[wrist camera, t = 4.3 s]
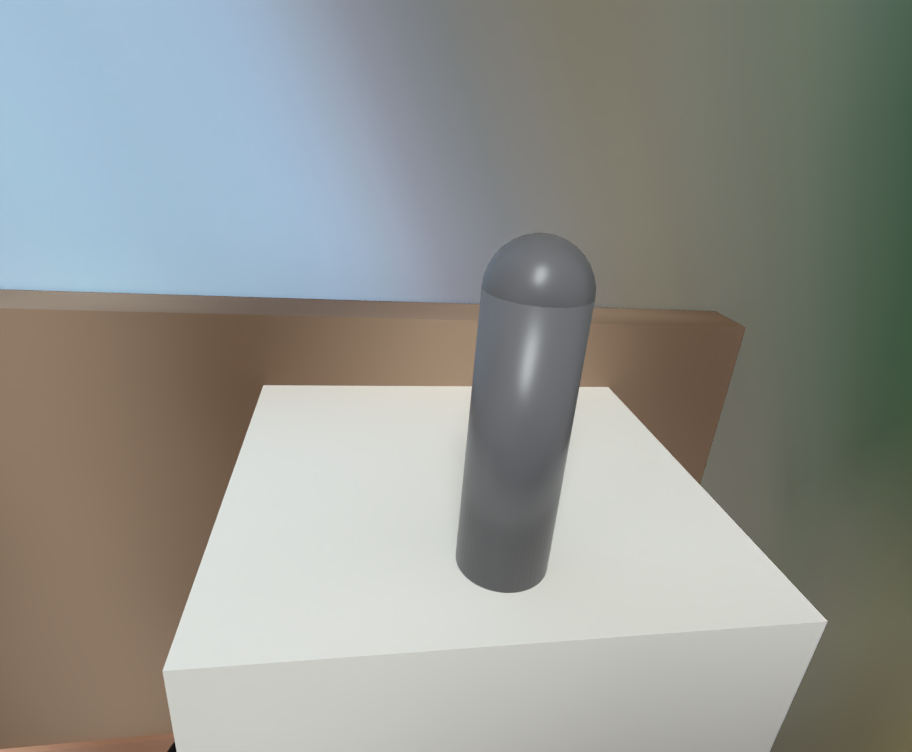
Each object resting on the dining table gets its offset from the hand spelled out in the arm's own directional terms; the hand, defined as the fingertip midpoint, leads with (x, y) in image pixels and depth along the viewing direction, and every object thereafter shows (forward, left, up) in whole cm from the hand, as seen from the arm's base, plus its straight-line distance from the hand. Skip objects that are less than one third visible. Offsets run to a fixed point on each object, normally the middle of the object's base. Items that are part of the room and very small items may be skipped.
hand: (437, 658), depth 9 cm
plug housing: (0, +1, -1) cm, 2 cm away
